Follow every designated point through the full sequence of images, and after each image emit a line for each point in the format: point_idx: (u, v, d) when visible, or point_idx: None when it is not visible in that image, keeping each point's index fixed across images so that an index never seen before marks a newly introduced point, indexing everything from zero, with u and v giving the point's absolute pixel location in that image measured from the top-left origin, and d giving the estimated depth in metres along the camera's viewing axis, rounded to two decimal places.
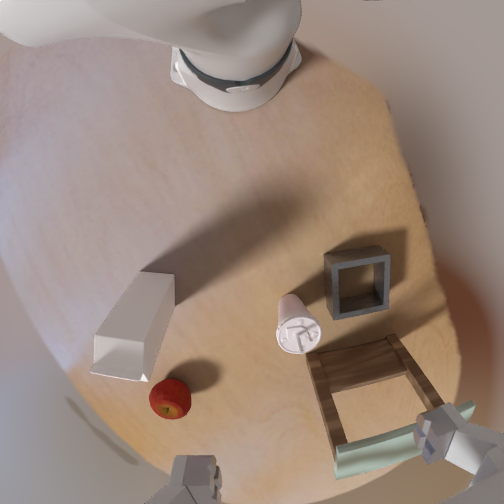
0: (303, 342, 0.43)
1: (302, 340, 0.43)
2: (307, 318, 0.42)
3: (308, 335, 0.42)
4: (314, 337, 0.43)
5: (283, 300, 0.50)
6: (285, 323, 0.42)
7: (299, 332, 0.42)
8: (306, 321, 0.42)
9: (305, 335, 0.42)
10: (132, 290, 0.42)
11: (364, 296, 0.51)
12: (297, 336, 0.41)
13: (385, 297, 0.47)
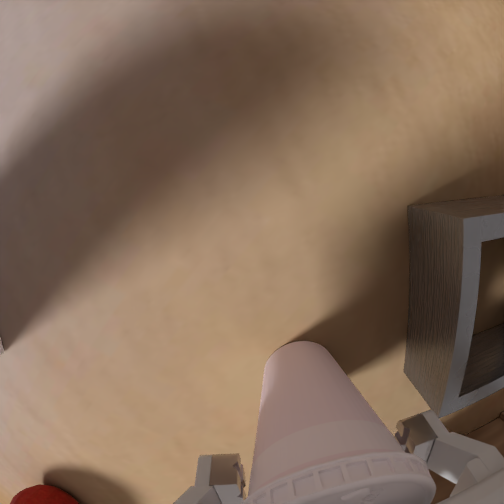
0: None
1: None
2: (394, 479, 0.06)
3: None
4: None
5: (279, 363, 0.14)
6: None
7: None
8: (385, 489, 0.06)
9: None
10: None
11: (493, 333, 0.15)
12: None
13: None
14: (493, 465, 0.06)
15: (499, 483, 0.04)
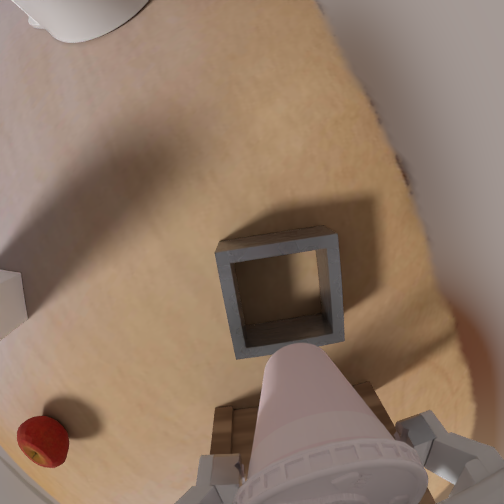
0: None
1: None
2: (382, 464, 0.06)
3: None
4: None
5: (277, 363, 0.14)
6: (268, 493, 0.06)
7: None
8: (375, 474, 0.06)
9: None
10: None
11: (303, 318, 0.30)
12: None
13: (335, 320, 0.26)
14: (492, 466, 0.06)
15: (499, 483, 0.04)
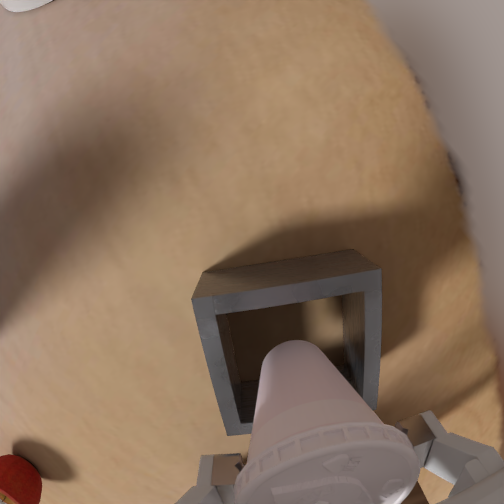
0: None
1: None
2: (370, 445, 0.07)
3: (369, 496, 0.07)
4: (389, 495, 0.08)
5: (272, 360, 0.15)
6: (263, 476, 0.07)
7: (331, 497, 0.07)
8: (365, 457, 0.07)
9: (356, 500, 0.07)
10: None
11: None
12: None
13: (367, 386, 0.17)
14: (491, 466, 0.06)
15: (499, 483, 0.04)
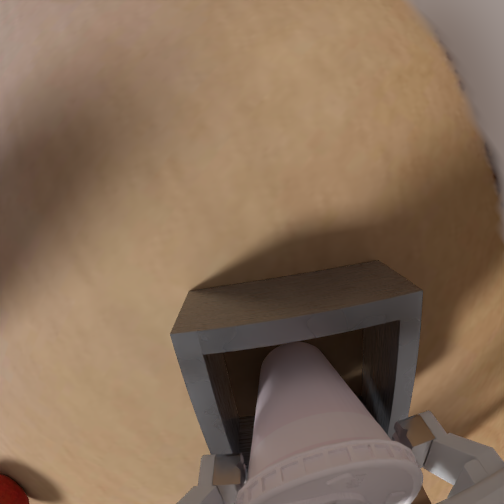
0: None
1: None
2: (375, 464, 0.06)
3: None
4: None
5: (272, 364, 0.15)
6: (266, 495, 0.07)
7: None
8: (369, 474, 0.07)
9: None
10: None
11: None
12: None
13: (393, 428, 0.13)
14: (491, 466, 0.06)
15: (499, 483, 0.04)
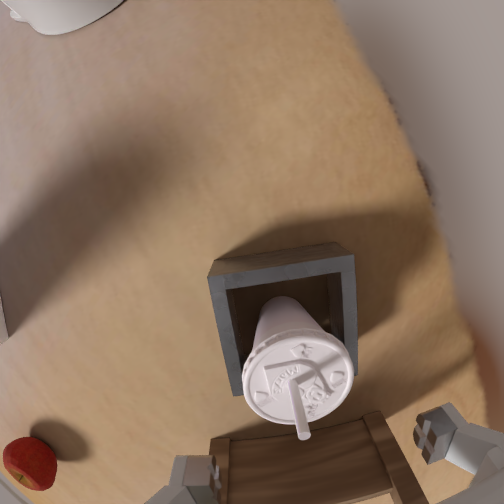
0: (310, 399, 0.16)
1: (307, 395, 0.16)
2: (316, 339, 0.16)
3: (322, 382, 0.16)
4: (336, 386, 0.16)
5: (266, 307, 0.24)
6: (259, 356, 0.16)
7: (298, 376, 0.16)
8: (314, 348, 0.16)
9: (314, 382, 0.16)
10: None
11: None
12: (292, 387, 0.15)
13: None
14: None
15: (499, 483, 0.04)
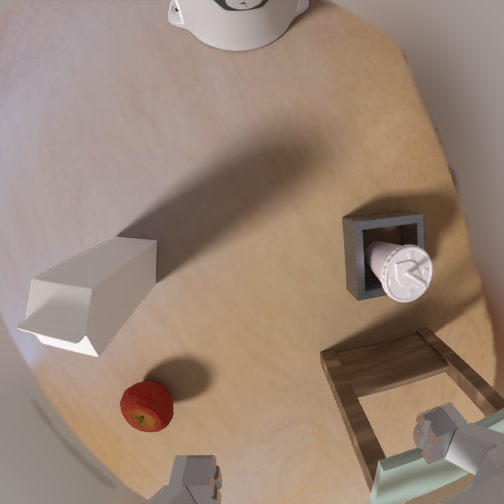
0: (414, 284, 0.31)
1: (413, 281, 0.31)
2: (418, 248, 0.30)
3: (419, 273, 0.31)
4: (425, 277, 0.31)
5: (373, 246, 0.38)
6: (394, 257, 0.30)
7: (410, 269, 0.30)
8: (417, 253, 0.30)
9: (416, 273, 0.31)
10: (99, 248, 0.32)
11: None
12: (410, 272, 0.30)
13: None
14: None
15: (499, 483, 0.04)
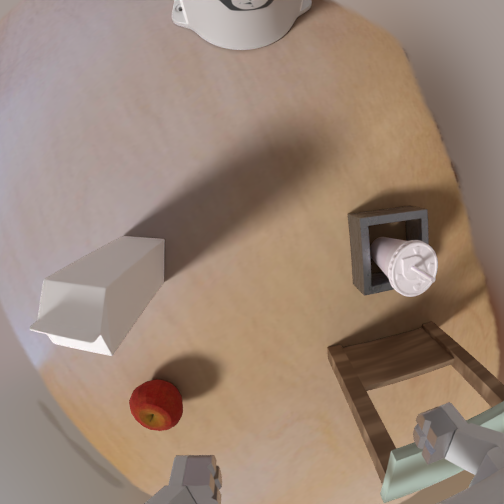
0: (420, 278, 0.31)
1: (419, 275, 0.31)
2: (423, 244, 0.31)
3: (425, 268, 0.31)
4: (430, 272, 0.31)
5: (378, 241, 0.39)
6: (400, 252, 0.31)
7: (416, 264, 0.31)
8: (422, 249, 0.31)
9: (422, 268, 0.31)
10: (108, 248, 0.32)
11: None
12: (416, 267, 0.30)
13: None
14: None
15: (499, 483, 0.04)
